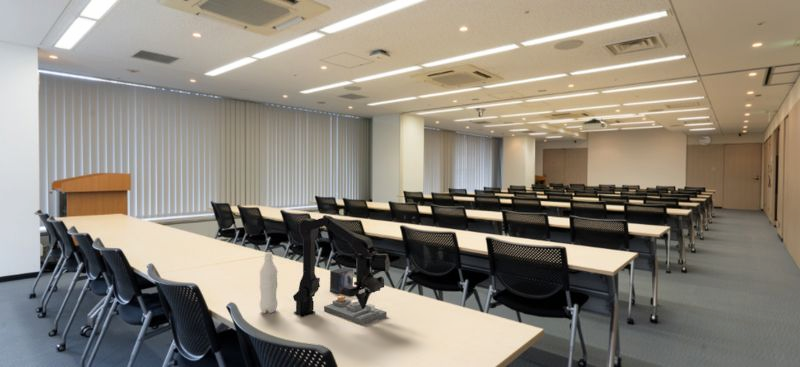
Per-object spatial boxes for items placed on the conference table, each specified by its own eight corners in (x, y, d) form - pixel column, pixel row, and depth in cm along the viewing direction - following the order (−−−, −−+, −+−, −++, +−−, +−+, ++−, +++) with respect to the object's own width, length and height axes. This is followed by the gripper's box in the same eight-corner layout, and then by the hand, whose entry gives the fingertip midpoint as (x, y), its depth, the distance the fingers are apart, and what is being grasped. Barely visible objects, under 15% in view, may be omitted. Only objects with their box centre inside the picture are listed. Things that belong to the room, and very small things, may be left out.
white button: (354, 307, 165) (354, 303, 165) (349, 306, 168) (349, 301, 168) (360, 305, 168) (360, 301, 168) (355, 304, 170) (355, 299, 170)
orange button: (340, 303, 171) (340, 298, 171) (335, 301, 174) (335, 296, 174) (346, 301, 174) (346, 296, 174) (341, 299, 176) (341, 295, 176)
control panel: (363, 325, 155) (363, 316, 155) (324, 310, 171) (324, 302, 171) (386, 316, 165) (386, 308, 165) (347, 303, 181) (347, 295, 181)
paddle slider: (371, 314, 162) (371, 306, 161) (365, 312, 163) (365, 304, 163) (374, 312, 163) (374, 305, 163) (369, 311, 165) (369, 303, 165)
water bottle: (271, 315, 166) (271, 255, 165) (256, 313, 167) (256, 254, 166) (280, 309, 173) (280, 251, 172) (265, 308, 174) (265, 250, 173)
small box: (338, 294, 195) (338, 272, 195) (329, 291, 199) (329, 270, 199) (353, 289, 203) (353, 268, 203) (344, 287, 207) (344, 266, 207)
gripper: (360, 277, 147) (359, 319, 148) (394, 268, 161) (393, 307, 162) (340, 272, 155) (340, 312, 155) (374, 264, 169) (374, 301, 169)
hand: (363, 308), depth 160 cm, fingers closed
